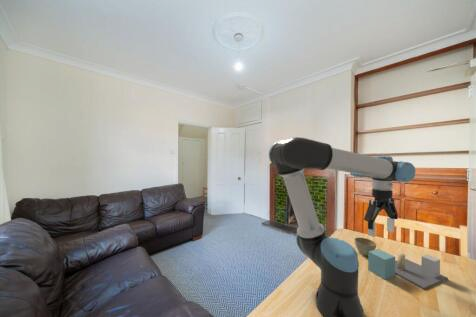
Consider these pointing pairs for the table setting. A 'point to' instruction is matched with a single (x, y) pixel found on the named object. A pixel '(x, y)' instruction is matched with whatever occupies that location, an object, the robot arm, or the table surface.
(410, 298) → the table surface
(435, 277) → the stand
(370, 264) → the pale blue block
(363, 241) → the grey brown bowl
